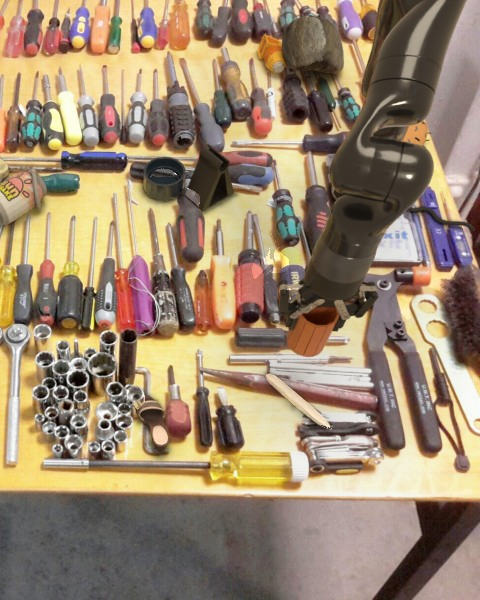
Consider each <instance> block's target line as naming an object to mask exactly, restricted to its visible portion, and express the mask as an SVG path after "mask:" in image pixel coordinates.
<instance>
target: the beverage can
mask: <svg viewBox="0 0 480 600" xmlns="http://www.w3.org/2000/svg"><path fill="white" fill-rule="evenodd" d="M47 194H48V189H47V185H46V182H45V181H44V179H43V178H42V176H41V175H40V174H39V173H38V172H37V169H36V168H34V167H33V168H30V169H28V170H26V171H19V172H17V173H15V174H14V175H11V176H10V177H9V178H7V179H5V180H4V181H3V182H2V181H1V183H0V223H1V224H0V225H2V226H8V225H11V223H13V222H15V221H16V220H18V219H19V218H20V217H23V215H25V214H26V213H28V212H30V211H32V209H34V208H36V210H37V211H40V210H41V209H42V204H41V202H42V199H43V198H44V197H47Z"/></svg>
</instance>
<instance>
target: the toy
mask: <svg viewBox="0 0 480 600" xmlns="http://www.w3.org/2000/svg"><path fill="white" fill-rule="evenodd" d="M428 131H429V127H428V125H427V122H426V121H425V120H424V121H422V122H421V123H418V124H416V125H411V126H409V127H408V130H407V132H406V135H405V137H404V139H403V141H404V142H410V143H415V144H419V145H421V146H423V147H425V148H426V146H425V143H426V142H429V141H430V139H427V138H428V134H429V135H432V133H431V132H428ZM403 141H402V142H403Z"/></svg>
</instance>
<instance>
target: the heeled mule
mask: <svg viewBox="0 0 480 600" xmlns="http://www.w3.org/2000/svg"><path fill="white" fill-rule="evenodd" d="M143 394H144V395H145V402H144V404H143V405H142V406H141V407H140V408H139V409H138V411H137V410H136V413H137V416H138V417H139V419H140V420H141V421H143V422H144V423H145V424H146V425H147V427H149V429H150V433H151V438H152V442H153V446H154V449H155V451H156V452H158V453H163V452H165V451H166V449H167V447H168V445H169V443H170V437H169V433H168V430H167V428H166V424H165V420H164V419H165V417H166V411H165V409H164V408H163V407H162V405H161V404H160V403H159V402H158V401H156V400H155V399H154V398H153V397H151V396H150V395H148V394H146V393H143Z"/></svg>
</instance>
